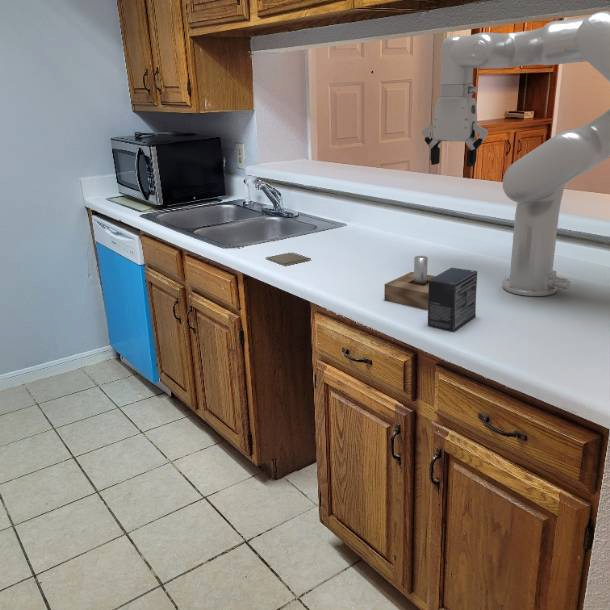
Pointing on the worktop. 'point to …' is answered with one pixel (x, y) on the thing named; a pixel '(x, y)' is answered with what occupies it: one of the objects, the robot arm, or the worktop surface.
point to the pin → (420, 270)
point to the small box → (452, 299)
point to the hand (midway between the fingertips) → (452, 165)
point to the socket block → (407, 291)
